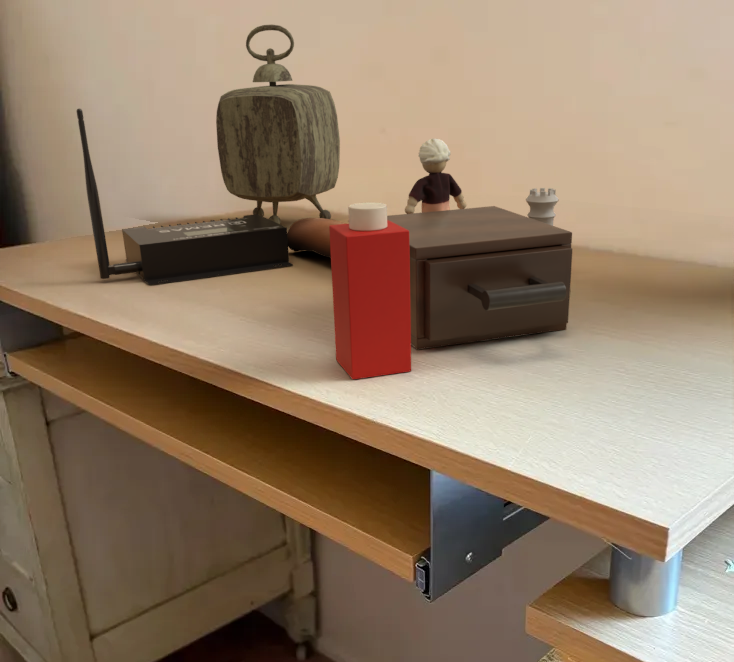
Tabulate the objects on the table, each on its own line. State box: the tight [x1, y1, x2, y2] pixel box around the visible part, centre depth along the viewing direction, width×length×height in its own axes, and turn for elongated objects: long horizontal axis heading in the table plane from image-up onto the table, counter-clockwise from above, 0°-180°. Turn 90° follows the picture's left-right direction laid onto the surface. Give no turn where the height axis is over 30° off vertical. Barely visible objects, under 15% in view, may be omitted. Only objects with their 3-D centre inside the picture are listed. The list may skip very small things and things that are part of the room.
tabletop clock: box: [215, 24, 341, 225], centre depth 109 cm, size 14×9×25 cm, turn 66°
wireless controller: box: [76, 108, 294, 286], centre depth 89 cm, size 20×14×17 cm
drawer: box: [424, 246, 573, 341], centre depth 66 cm, size 17×12×6 cm
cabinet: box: [387, 205, 573, 350], centre depth 69 cm, size 14×13×8 cm
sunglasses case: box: [287, 217, 348, 259], centre depth 91 cm, size 18×7×7 cm
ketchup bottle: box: [329, 201, 412, 380], centre depth 58 cm, size 4×4×12 cm
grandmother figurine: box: [404, 138, 468, 214], centre depth 89 cm, size 8×4×13 cm, turn 132°
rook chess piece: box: [525, 187, 560, 226], centre depth 84 cm, size 4×4×8 cm
